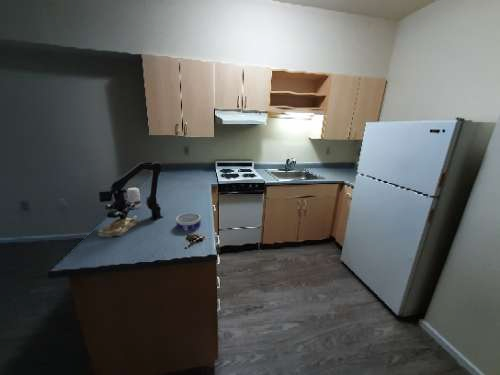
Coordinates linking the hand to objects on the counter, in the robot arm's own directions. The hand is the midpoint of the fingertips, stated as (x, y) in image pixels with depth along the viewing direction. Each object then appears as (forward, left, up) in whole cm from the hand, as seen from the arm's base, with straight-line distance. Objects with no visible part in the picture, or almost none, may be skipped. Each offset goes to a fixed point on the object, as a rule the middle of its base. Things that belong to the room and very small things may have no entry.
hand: (123, 221), depth 140 cm
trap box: (-4, +3, -2) cm, 5 cm away
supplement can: (+23, -18, -2) cm, 29 cm away
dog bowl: (-34, -25, -2) cm, 43 cm away
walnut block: (-2, +4, -1) cm, 5 cm away
